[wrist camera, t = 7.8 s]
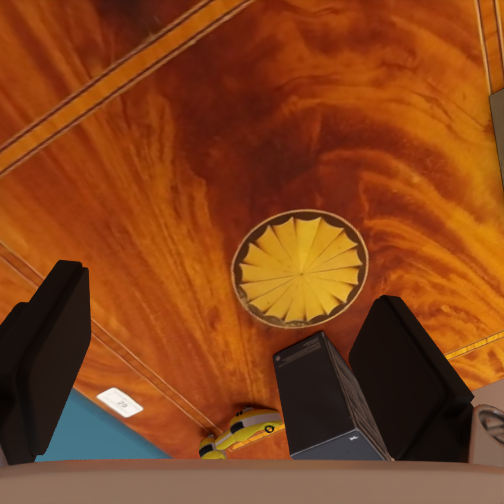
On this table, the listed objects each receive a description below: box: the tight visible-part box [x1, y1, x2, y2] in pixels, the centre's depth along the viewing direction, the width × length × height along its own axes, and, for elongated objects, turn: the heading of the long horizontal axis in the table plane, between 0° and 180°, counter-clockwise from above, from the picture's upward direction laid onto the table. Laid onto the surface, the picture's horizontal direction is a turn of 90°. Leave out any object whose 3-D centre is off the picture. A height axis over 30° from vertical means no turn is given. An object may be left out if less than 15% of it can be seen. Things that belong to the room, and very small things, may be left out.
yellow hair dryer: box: [199, 407, 282, 459], centre depth 40 cm, size 10×6×4 cm, turn 136°
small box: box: [273, 332, 392, 461], centre depth 33 cm, size 11×6×10 cm, turn 32°
